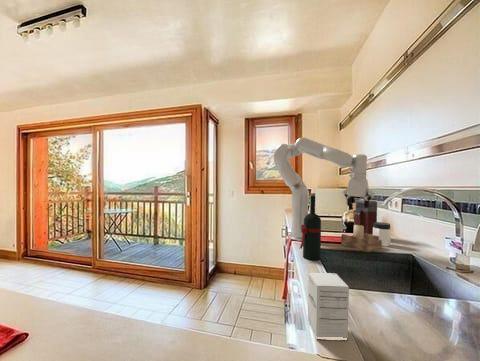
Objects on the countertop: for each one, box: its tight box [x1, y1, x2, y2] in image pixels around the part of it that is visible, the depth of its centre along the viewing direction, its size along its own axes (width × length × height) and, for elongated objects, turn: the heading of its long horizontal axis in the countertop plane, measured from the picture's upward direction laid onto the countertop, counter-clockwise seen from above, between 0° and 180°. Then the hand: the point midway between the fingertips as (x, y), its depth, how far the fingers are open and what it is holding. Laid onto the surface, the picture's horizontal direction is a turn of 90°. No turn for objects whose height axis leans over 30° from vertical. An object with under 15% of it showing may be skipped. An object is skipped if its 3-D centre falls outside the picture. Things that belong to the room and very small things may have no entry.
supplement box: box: [307, 272, 350, 339], centre depth 55 cm, size 7×7×13 cm
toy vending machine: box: [353, 193, 378, 235], centre depth 148 cm, size 9×11×28 cm
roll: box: [352, 224, 364, 238], centre depth 128 cm, size 5×5×11 cm
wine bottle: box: [299, 192, 322, 262], centre depth 106 cm, size 8×10×30 cm
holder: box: [340, 230, 383, 253], centre depth 127 cm, size 15×14×6 cm
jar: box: [373, 221, 392, 248], centre depth 131 cm, size 9×8×12 cm
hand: (357, 206), depth 130 cm, fingers open, 9 cm apart
